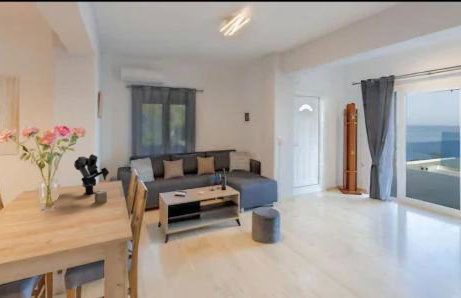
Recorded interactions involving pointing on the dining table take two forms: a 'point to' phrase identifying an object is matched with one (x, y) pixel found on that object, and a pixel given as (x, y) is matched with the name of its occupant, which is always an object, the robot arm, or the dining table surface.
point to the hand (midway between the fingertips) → (98, 183)
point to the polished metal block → (100, 196)
